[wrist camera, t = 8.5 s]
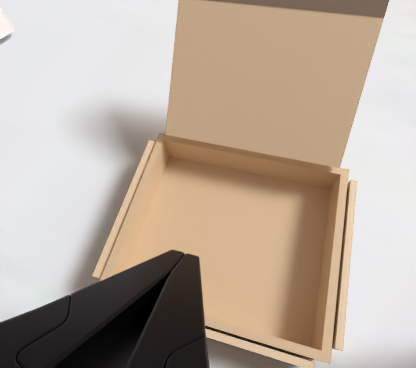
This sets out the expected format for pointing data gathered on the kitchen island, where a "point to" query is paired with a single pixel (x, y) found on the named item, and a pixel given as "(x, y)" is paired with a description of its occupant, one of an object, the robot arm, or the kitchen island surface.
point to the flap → (272, 74)
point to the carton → (246, 241)
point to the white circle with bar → (5, 25)
